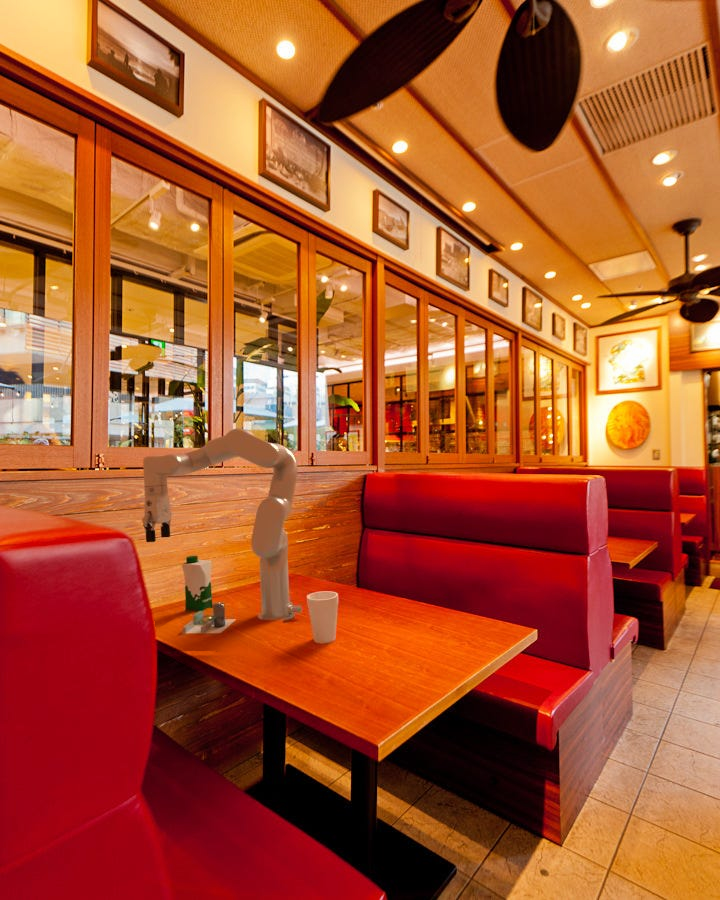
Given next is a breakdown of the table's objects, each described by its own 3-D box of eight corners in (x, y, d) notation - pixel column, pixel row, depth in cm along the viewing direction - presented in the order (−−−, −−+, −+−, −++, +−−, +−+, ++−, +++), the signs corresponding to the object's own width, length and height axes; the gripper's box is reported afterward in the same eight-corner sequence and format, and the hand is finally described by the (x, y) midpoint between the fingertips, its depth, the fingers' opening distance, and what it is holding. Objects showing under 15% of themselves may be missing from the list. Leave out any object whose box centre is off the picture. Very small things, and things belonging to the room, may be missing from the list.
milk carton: (196, 606, 189) (194, 554, 189) (216, 607, 186) (214, 554, 186) (181, 613, 180) (178, 559, 181) (202, 615, 178) (199, 559, 178)
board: (236, 622, 167) (235, 610, 167) (220, 636, 154) (220, 623, 154) (199, 623, 168) (198, 610, 169) (181, 637, 156) (180, 623, 156)
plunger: (215, 617, 167) (215, 615, 167) (210, 621, 163) (210, 619, 163) (204, 617, 168) (203, 615, 168) (198, 621, 164) (198, 619, 164)
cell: (227, 623, 162) (226, 601, 163) (222, 627, 159) (221, 604, 159) (216, 624, 163) (215, 601, 163) (212, 627, 159) (211, 604, 159)
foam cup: (346, 636, 149) (344, 593, 149) (329, 647, 141) (326, 601, 141) (320, 632, 154) (318, 590, 154) (302, 642, 146) (300, 598, 146)
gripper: (152, 492, 165) (155, 543, 165) (178, 488, 182) (180, 535, 182) (131, 493, 166) (134, 544, 166) (159, 489, 183) (161, 535, 183)
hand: (158, 539), depth 174 cm, fingers open, 9 cm apart
